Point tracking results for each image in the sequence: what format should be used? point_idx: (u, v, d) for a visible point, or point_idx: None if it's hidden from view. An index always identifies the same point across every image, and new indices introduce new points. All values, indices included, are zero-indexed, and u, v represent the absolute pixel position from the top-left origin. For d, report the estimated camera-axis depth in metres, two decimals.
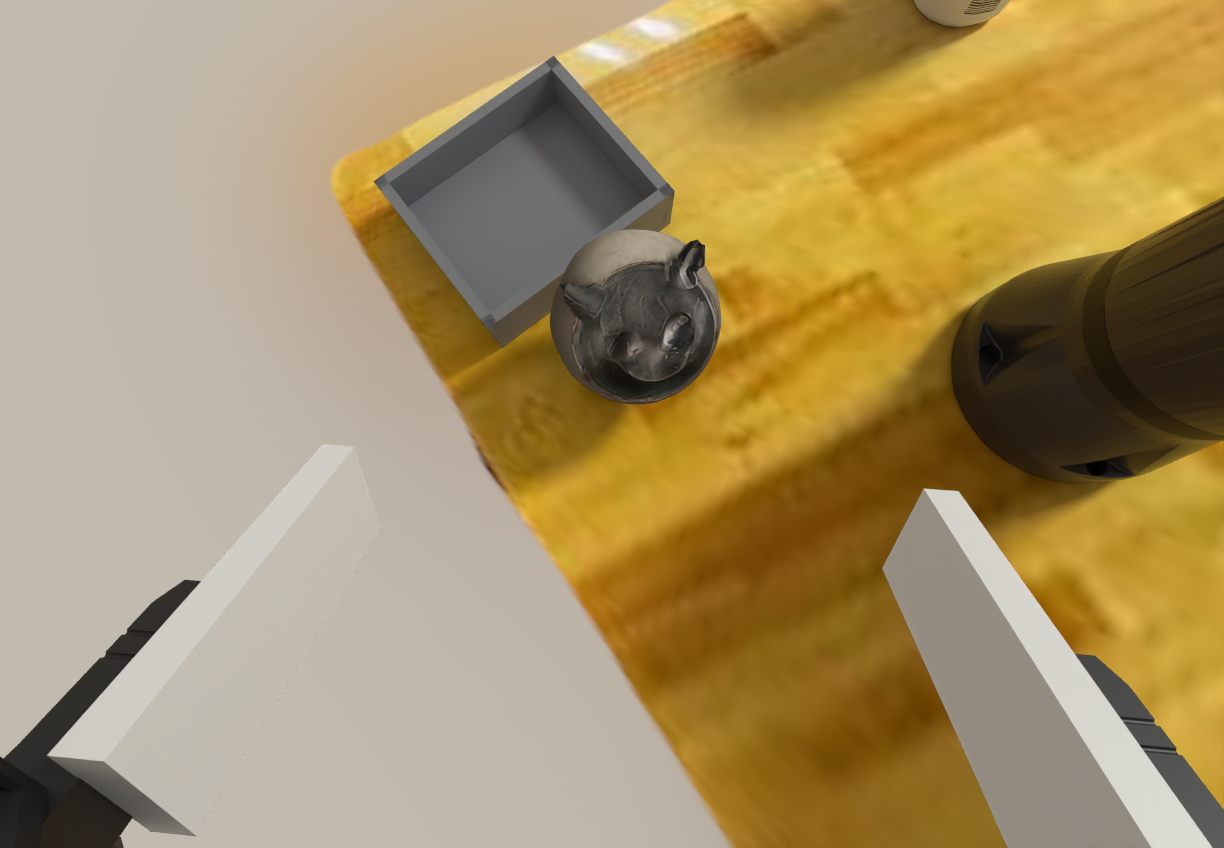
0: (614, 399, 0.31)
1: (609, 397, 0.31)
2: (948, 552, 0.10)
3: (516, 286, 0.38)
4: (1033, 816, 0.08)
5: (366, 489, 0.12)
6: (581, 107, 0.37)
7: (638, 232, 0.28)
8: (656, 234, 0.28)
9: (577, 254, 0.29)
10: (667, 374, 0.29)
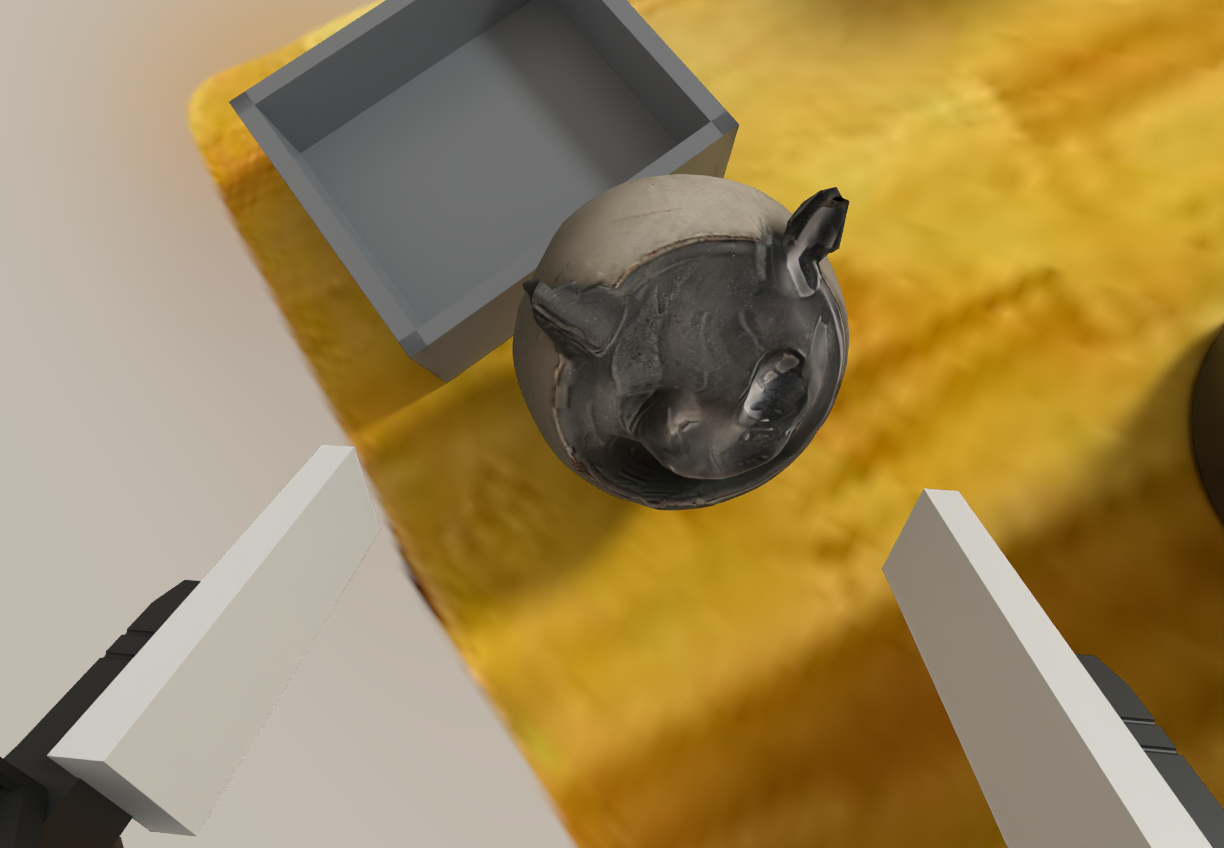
0: (633, 501, 0.16)
1: (624, 499, 0.16)
2: (948, 552, 0.10)
3: (470, 284, 0.23)
4: (1033, 816, 0.08)
5: (365, 489, 0.12)
6: None
7: (693, 177, 0.14)
8: (730, 182, 0.14)
9: (566, 222, 0.14)
10: (744, 468, 0.14)
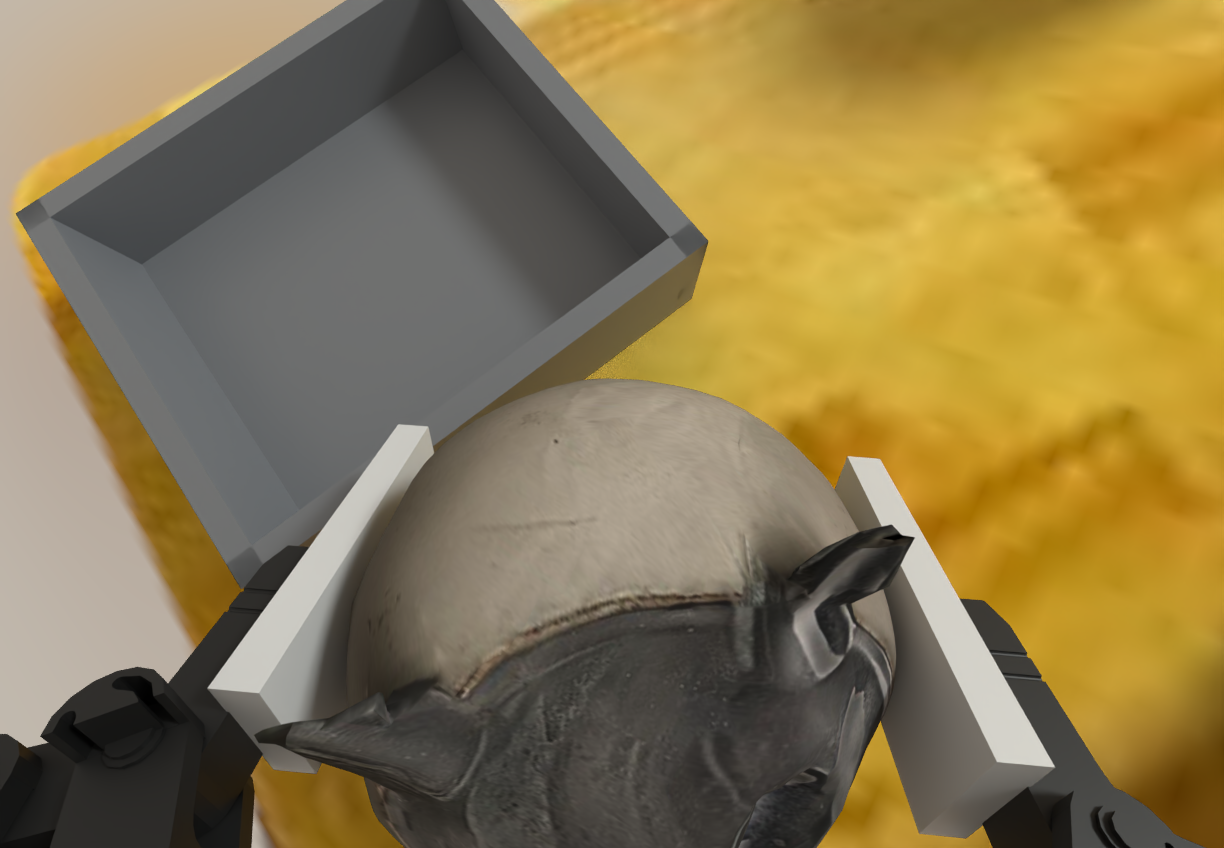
0: None
1: None
2: (863, 512, 0.11)
3: (357, 442, 0.17)
4: (915, 739, 0.09)
5: None
6: (499, 51, 0.17)
7: (628, 421, 0.08)
8: (692, 427, 0.08)
9: (424, 475, 0.09)
10: None
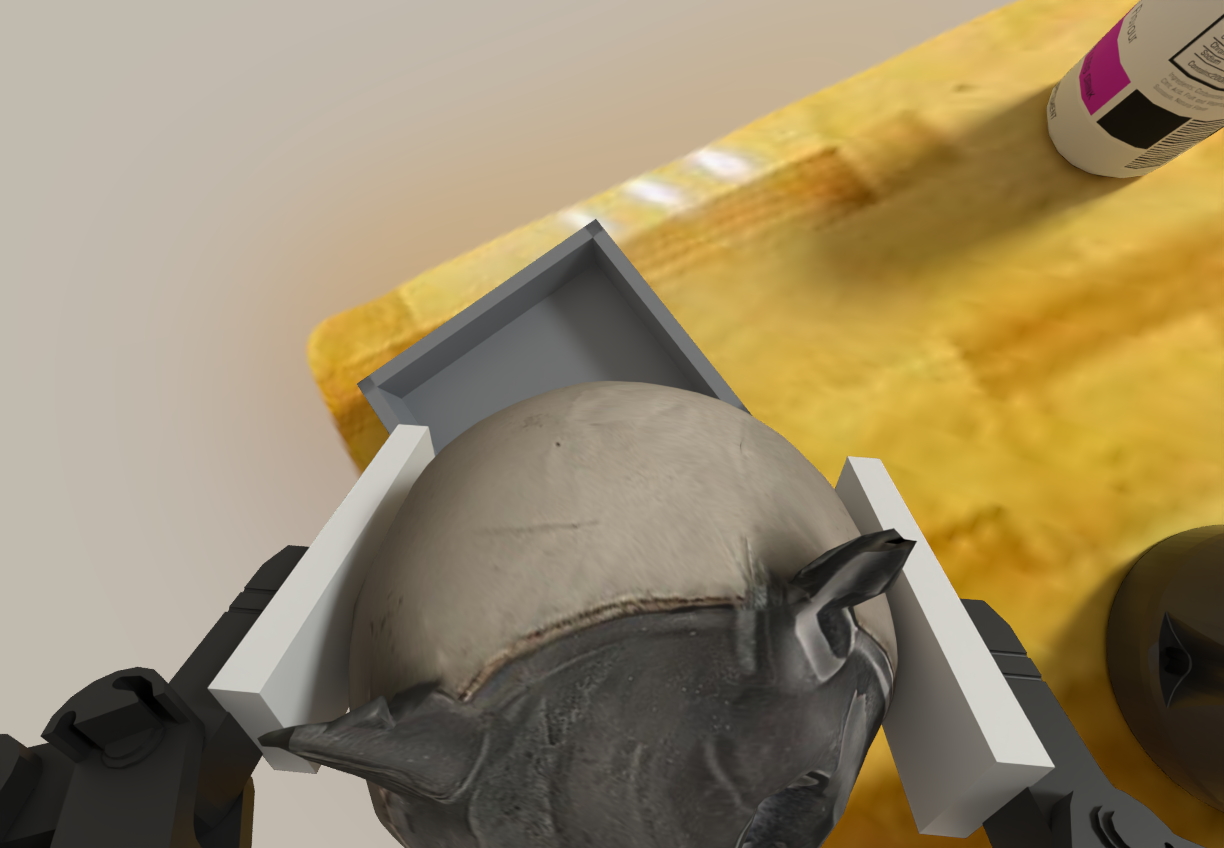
0: None
1: None
2: (863, 512, 0.11)
3: None
4: (915, 739, 0.09)
5: None
6: (630, 288, 0.28)
7: (630, 424, 0.08)
8: (694, 430, 0.08)
9: (426, 478, 0.09)
10: None
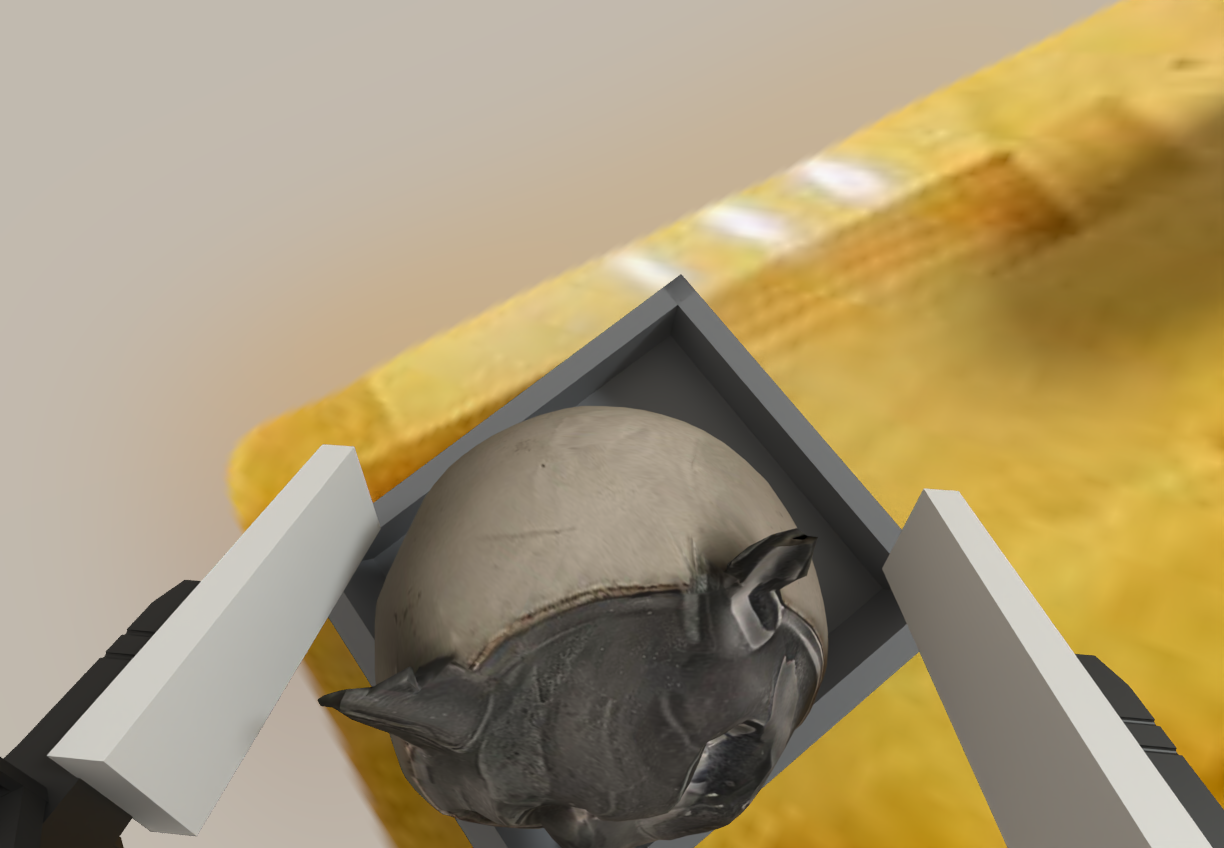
0: None
1: None
2: (948, 552, 0.10)
3: None
4: (1033, 816, 0.08)
5: (366, 489, 0.12)
6: (741, 386, 0.17)
7: (602, 447, 0.10)
8: (654, 451, 0.10)
9: (435, 494, 0.10)
10: (689, 833, 0.10)
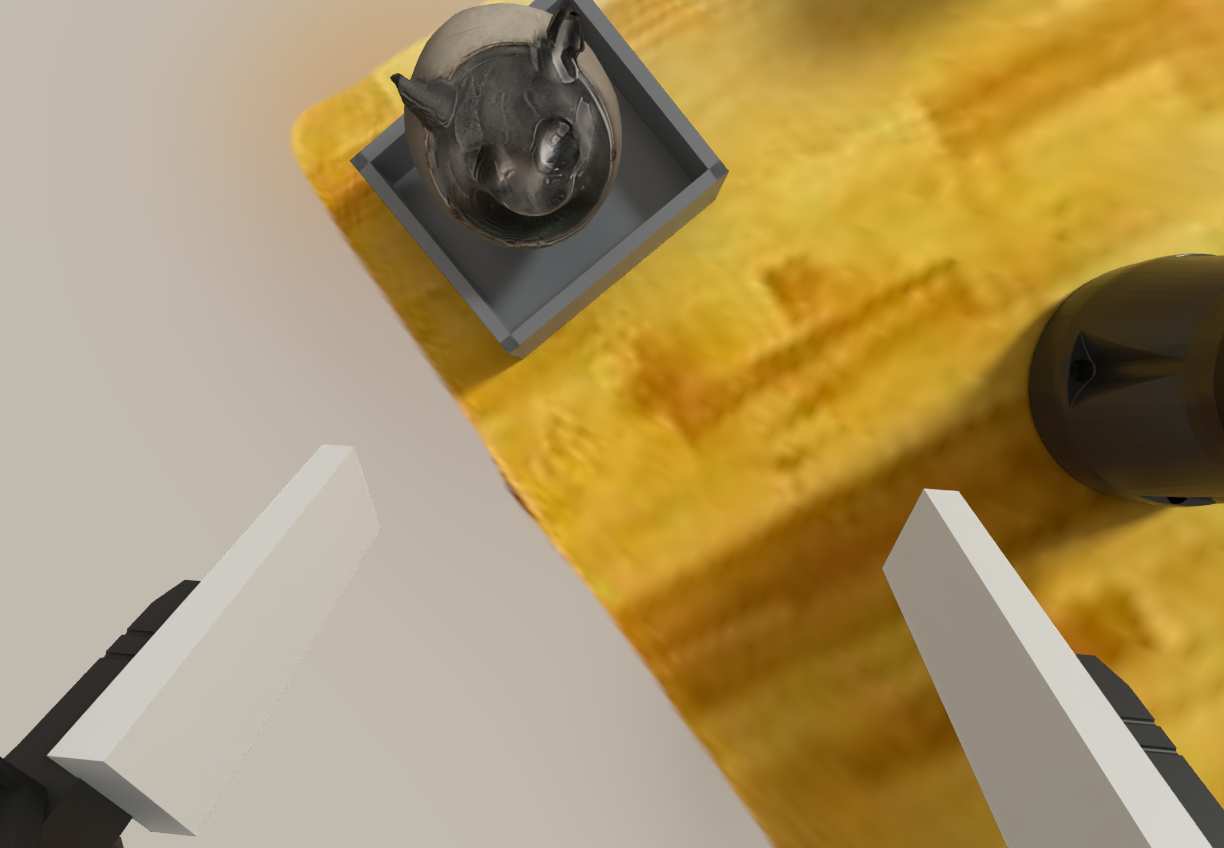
0: (499, 244, 0.26)
1: (492, 241, 0.26)
2: (948, 552, 0.10)
3: (534, 288, 0.32)
4: (1033, 816, 0.08)
5: (366, 489, 0.12)
6: (608, 48, 0.29)
7: (500, 5, 0.21)
8: (524, 7, 0.21)
9: (426, 43, 0.22)
10: (553, 206, 0.24)
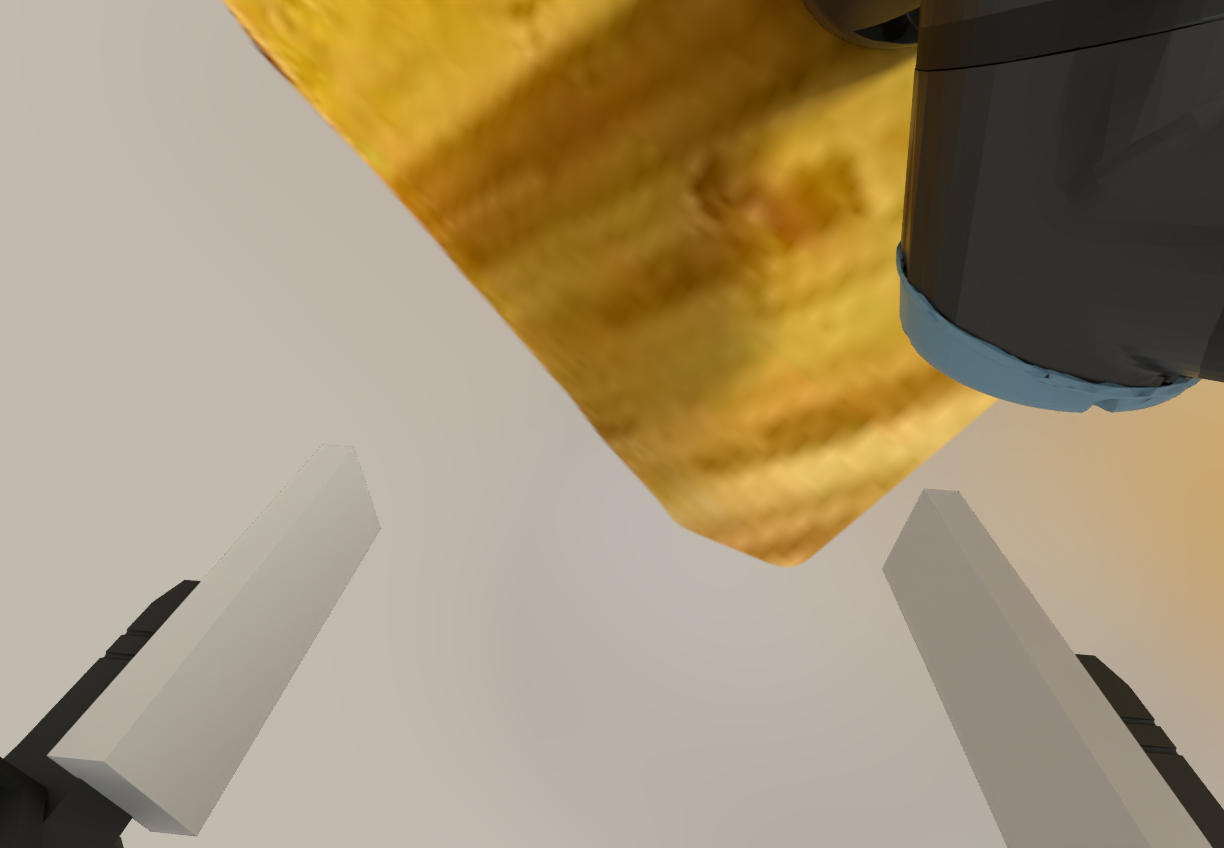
0: None
1: None
2: (948, 552, 0.10)
3: None
4: (1033, 816, 0.08)
5: (365, 489, 0.12)
6: None
7: None
8: None
9: None
10: None
